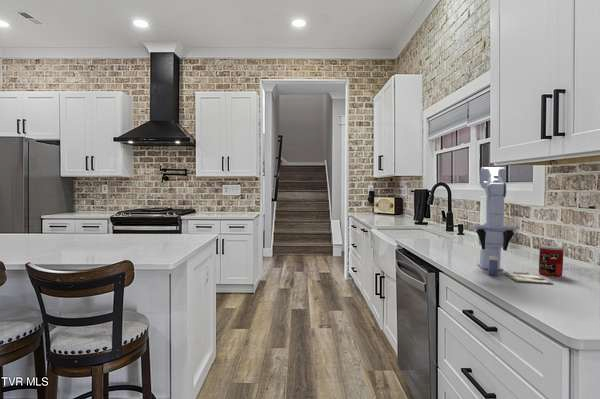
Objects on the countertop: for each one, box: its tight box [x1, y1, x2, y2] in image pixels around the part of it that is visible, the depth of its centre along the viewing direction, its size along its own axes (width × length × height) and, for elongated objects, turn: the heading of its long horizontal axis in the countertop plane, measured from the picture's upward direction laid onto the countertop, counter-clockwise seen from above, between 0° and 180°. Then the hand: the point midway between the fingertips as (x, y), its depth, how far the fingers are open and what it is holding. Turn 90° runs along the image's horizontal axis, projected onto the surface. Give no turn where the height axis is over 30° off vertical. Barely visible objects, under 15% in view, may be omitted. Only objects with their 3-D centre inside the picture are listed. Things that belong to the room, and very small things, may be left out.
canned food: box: [538, 244, 564, 278], centre depth 154 cm, size 8×8×11 cm
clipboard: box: [503, 271, 554, 285], centre depth 146 cm, size 14×12×1 cm
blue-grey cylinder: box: [488, 256, 499, 277], centre depth 151 cm, size 3×3×7 cm
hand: (493, 249), depth 151 cm, fingers open, 7 cm apart
